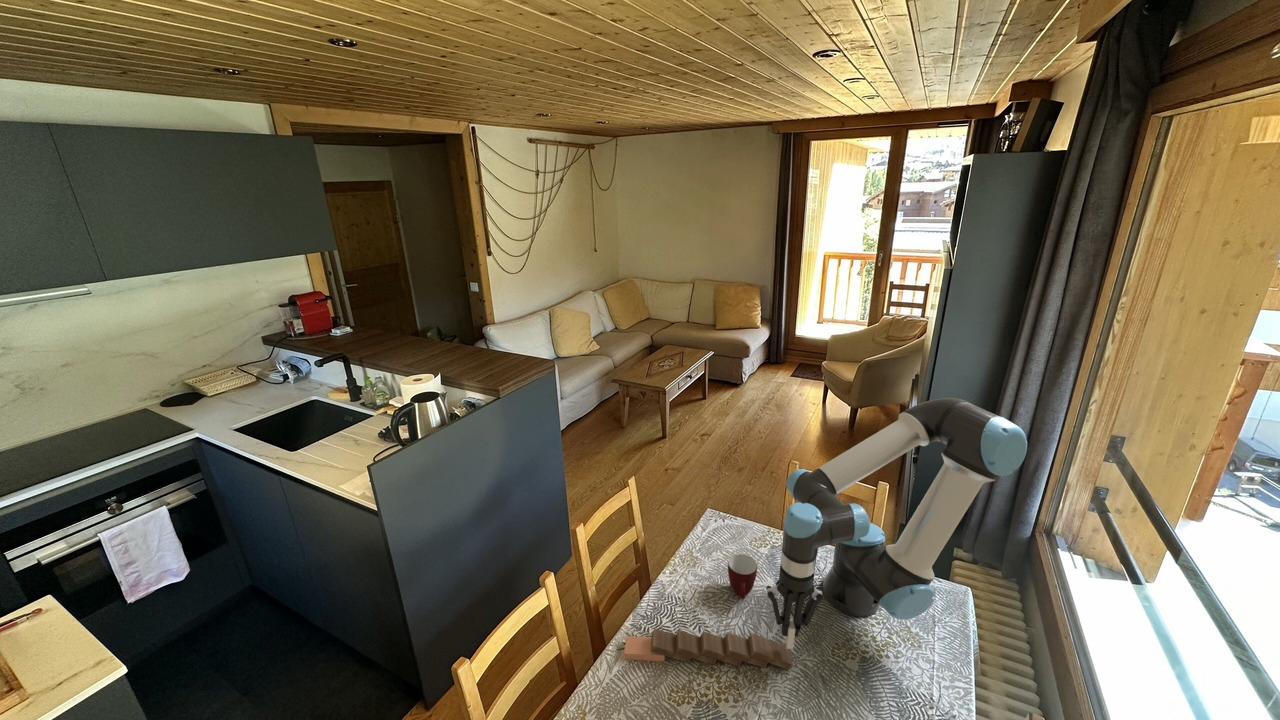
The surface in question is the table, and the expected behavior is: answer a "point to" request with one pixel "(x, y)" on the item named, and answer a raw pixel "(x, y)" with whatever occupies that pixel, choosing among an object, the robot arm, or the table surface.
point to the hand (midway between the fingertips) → (788, 644)
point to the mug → (742, 574)
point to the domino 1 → (640, 649)
